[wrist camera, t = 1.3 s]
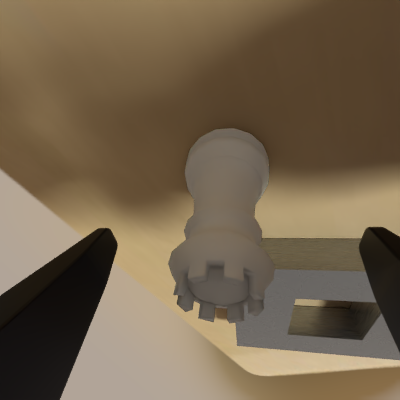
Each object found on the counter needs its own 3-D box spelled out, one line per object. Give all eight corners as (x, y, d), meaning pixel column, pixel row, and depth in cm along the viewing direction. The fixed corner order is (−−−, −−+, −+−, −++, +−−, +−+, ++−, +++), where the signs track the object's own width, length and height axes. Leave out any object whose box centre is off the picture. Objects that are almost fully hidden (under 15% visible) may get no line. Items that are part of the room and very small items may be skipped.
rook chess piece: (239, 207, 14) (242, 348, 8) (175, 176, 13) (122, 306, 7) (285, 150, 11) (348, 294, 5) (210, 107, 11) (174, 217, 4)
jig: (464, 239, 13) (503, 275, 11) (390, 328, 20) (406, 360, 18) (231, 238, 16) (231, 268, 14) (237, 318, 23) (237, 345, 21)
